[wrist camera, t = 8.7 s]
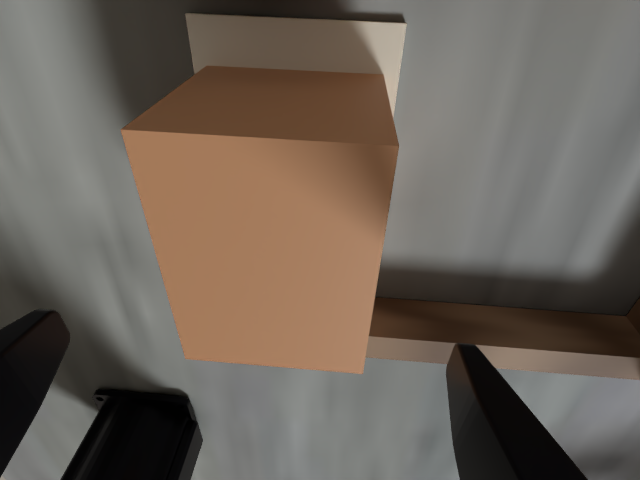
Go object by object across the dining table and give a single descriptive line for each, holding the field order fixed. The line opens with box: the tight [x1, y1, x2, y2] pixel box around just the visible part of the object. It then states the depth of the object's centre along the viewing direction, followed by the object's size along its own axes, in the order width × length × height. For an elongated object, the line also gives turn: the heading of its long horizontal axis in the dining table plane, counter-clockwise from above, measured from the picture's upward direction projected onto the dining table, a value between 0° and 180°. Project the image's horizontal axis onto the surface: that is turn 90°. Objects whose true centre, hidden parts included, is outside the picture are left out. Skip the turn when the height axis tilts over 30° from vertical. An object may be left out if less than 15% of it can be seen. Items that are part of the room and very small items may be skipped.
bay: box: [185, 13, 640, 380], centre depth 14 cm, size 21×16×4 cm
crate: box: [121, 66, 399, 374], centre depth 13 cm, size 6×8×6 cm
